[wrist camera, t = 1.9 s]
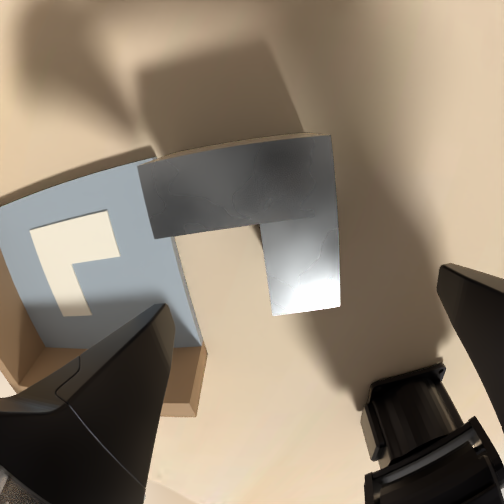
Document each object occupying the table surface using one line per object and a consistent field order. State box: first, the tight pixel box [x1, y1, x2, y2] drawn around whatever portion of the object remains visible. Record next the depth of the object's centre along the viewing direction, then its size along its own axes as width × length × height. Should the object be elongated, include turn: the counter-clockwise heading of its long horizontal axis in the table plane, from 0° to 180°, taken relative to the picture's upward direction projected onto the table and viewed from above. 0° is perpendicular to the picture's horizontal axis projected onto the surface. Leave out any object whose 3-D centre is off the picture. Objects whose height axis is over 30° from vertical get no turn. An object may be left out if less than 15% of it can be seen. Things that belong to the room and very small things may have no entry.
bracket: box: [137, 132, 340, 316], centre depth 12 cm, size 6×6×5 cm
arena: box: [0, 157, 208, 417], centre depth 14 cm, size 14×12×5 cm
